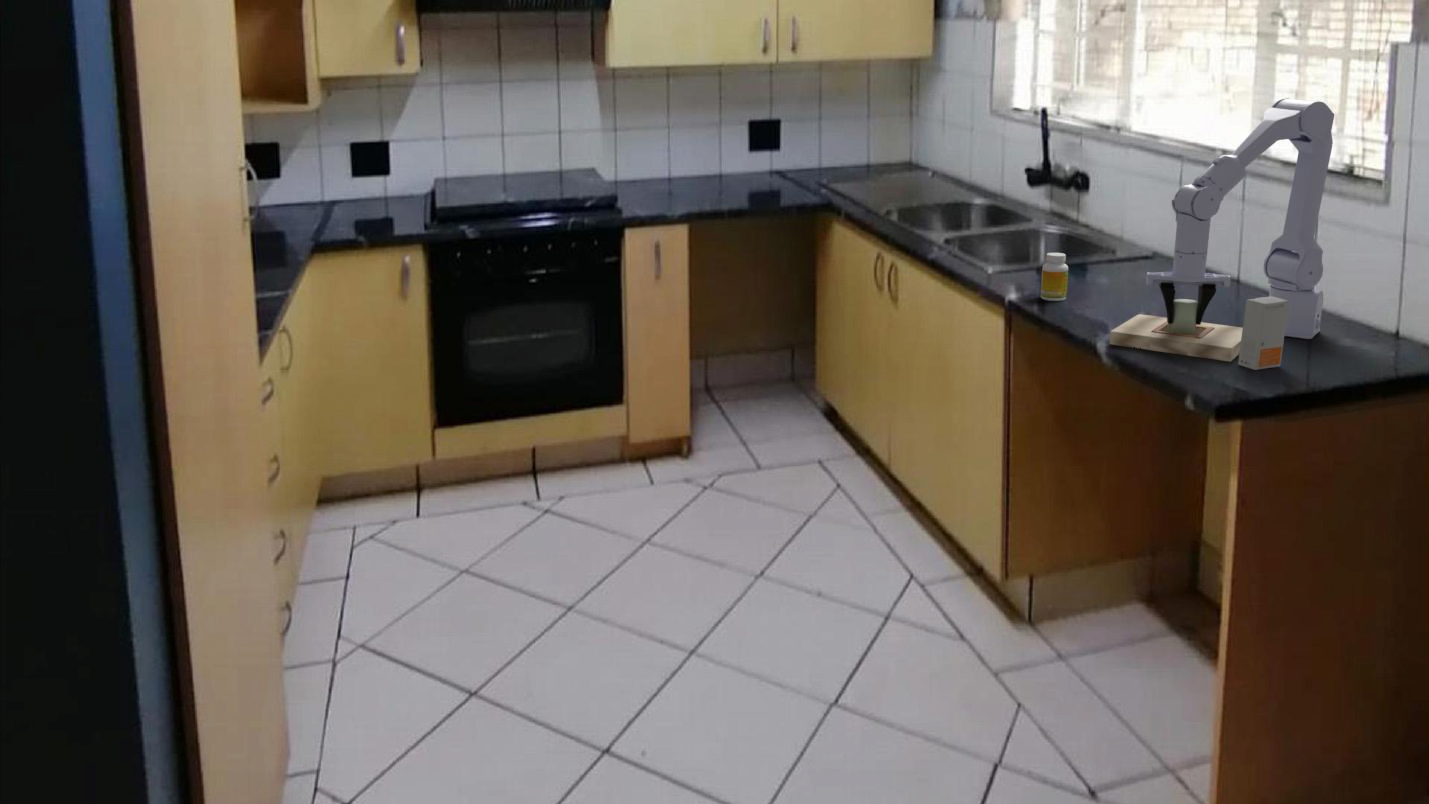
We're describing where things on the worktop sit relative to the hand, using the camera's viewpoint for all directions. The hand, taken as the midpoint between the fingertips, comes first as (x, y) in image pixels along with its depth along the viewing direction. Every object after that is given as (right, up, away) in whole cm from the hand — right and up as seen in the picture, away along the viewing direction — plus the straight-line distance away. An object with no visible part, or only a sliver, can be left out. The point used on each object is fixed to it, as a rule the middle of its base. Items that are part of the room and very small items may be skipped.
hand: (1183, 322), depth 243 cm
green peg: (0, -2, +1) cm, 2 cm away
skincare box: (+8, -9, -14) cm, 18 cm away
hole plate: (0, -4, +1) cm, 4 cm away
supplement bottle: (-15, +7, +37) cm, 41 cm away
